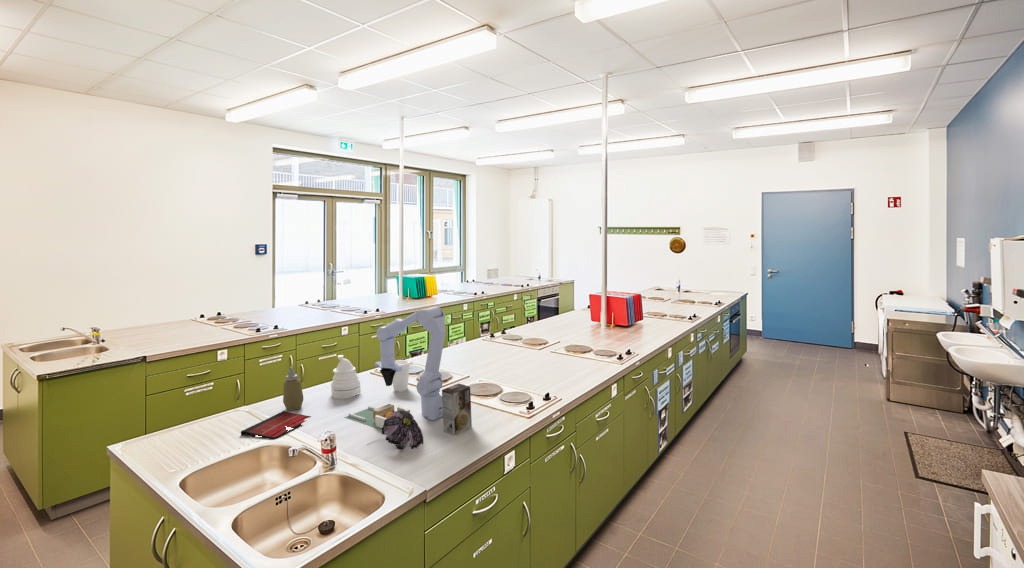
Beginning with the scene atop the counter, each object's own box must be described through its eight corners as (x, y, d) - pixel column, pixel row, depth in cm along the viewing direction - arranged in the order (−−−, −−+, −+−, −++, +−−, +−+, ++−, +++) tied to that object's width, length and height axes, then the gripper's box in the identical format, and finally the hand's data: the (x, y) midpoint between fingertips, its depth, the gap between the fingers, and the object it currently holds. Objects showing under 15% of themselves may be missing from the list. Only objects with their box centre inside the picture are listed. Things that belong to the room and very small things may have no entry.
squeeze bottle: (296, 412, 200) (293, 370, 198) (279, 411, 202) (276, 369, 200) (308, 405, 208) (305, 365, 206) (291, 404, 210) (288, 364, 208)
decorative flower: (391, 429, 156) (384, 402, 169) (380, 458, 159) (375, 429, 172) (432, 431, 163) (423, 406, 176) (422, 459, 166) (413, 432, 179)
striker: (394, 417, 190) (394, 405, 189) (378, 424, 183) (377, 411, 183) (389, 415, 192) (389, 403, 191) (373, 422, 185) (372, 410, 185)
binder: (240, 430, 178) (282, 410, 198) (240, 436, 178) (282, 416, 198) (275, 436, 173) (315, 415, 193) (275, 442, 173) (315, 421, 193)
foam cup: (413, 386, 231) (412, 359, 230) (407, 392, 222) (406, 365, 221) (394, 386, 232) (393, 359, 231) (387, 392, 223) (386, 365, 222)
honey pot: (325, 397, 218) (323, 358, 217) (343, 388, 231) (341, 351, 229) (349, 399, 215) (347, 360, 213) (366, 390, 227) (364, 353, 225)
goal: (410, 419, 187) (409, 409, 187) (386, 429, 178) (386, 419, 177) (399, 416, 191) (398, 406, 191) (375, 426, 182) (375, 415, 181)
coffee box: (460, 423, 184) (458, 383, 182) (472, 427, 180) (471, 386, 178) (442, 431, 177) (441, 389, 175) (454, 435, 173) (453, 392, 171)
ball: (390, 409, 188) (391, 419, 188) (381, 413, 185) (383, 423, 185) (396, 410, 186) (398, 420, 186) (388, 413, 182) (390, 424, 182)
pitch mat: (413, 420, 188) (413, 416, 188) (385, 433, 177) (385, 428, 176) (372, 408, 202) (372, 404, 202) (344, 419, 191) (343, 414, 191)
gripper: (368, 353, 202) (370, 385, 204) (391, 358, 194) (393, 390, 196) (381, 350, 208) (383, 380, 210) (404, 354, 200) (406, 386, 201)
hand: (389, 385), depth 203 cm, fingers closed
